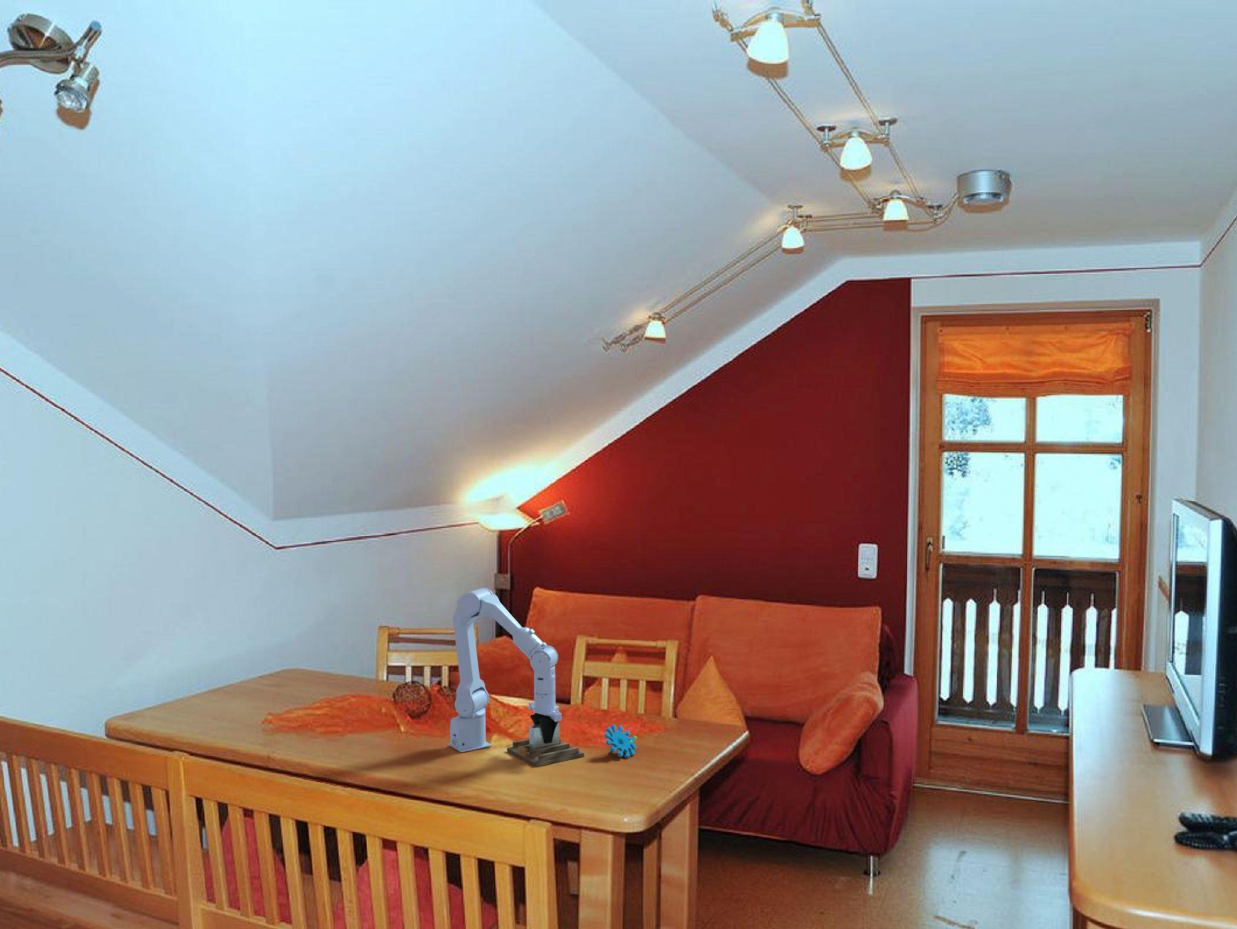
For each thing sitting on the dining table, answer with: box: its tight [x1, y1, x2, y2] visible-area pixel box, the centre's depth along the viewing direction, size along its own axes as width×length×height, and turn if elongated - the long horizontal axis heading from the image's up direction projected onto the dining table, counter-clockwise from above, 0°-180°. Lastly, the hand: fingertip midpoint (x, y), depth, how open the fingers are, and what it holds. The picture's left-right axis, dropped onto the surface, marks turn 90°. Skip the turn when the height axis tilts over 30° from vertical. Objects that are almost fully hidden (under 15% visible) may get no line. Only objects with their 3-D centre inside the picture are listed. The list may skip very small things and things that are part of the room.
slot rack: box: [506, 738, 585, 768], centre depth 283 cm, size 15×16×3 cm
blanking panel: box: [528, 722, 560, 751], centre depth 283 cm, size 8×2×7 cm, turn 124°
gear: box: [603, 724, 638, 759], centre depth 283 cm, size 11×6×10 cm
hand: (545, 741), depth 283 cm, fingers closed on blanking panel, 2 cm apart
